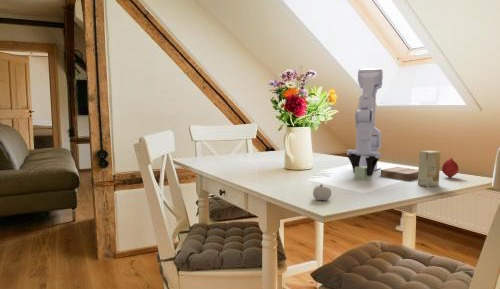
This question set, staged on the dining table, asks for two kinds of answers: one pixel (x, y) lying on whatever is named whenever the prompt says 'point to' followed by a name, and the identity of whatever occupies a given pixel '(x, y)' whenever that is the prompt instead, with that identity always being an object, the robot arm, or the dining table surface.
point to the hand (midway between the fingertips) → (362, 174)
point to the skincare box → (429, 168)
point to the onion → (450, 168)
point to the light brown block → (400, 173)
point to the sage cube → (361, 172)
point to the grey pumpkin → (322, 192)
